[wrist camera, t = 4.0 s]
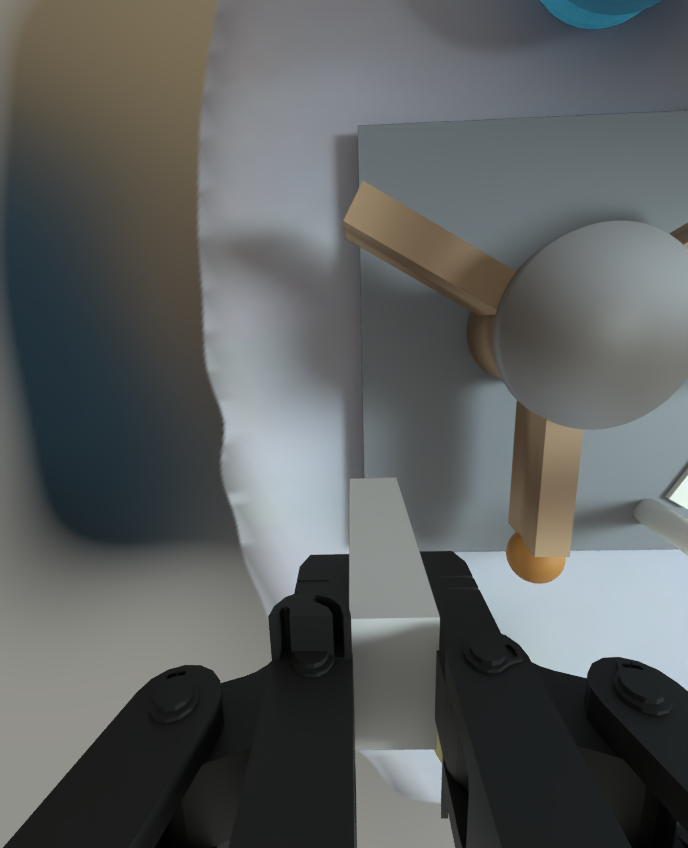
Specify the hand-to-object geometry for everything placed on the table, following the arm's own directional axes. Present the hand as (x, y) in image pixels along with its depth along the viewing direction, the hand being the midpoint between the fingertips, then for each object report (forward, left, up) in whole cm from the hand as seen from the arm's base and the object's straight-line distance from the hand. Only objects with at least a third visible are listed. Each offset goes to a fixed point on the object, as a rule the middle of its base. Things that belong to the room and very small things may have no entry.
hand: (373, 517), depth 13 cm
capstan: (-3, +7, -8) cm, 11 cm away
